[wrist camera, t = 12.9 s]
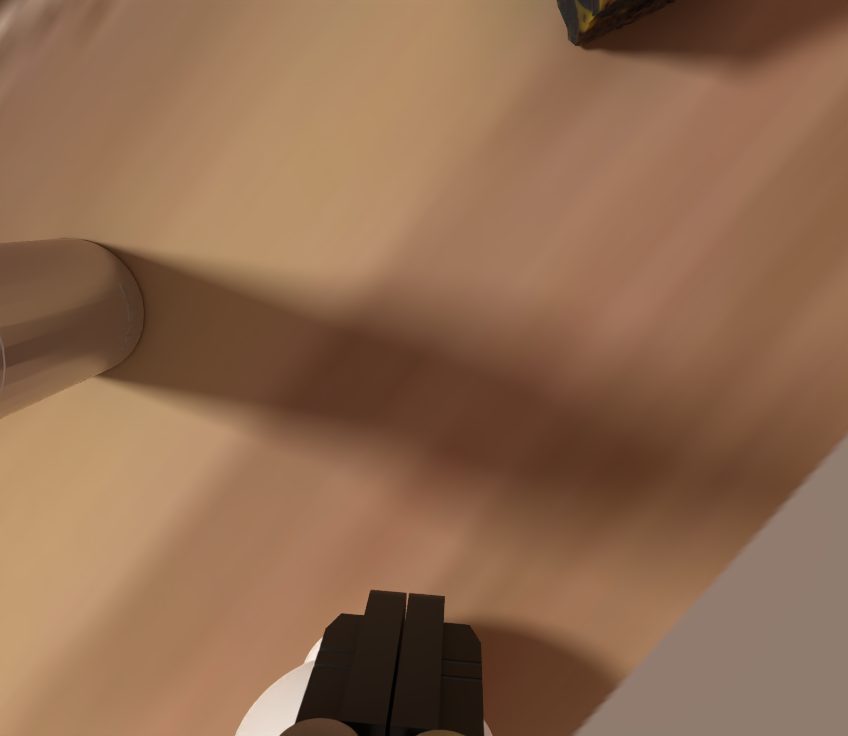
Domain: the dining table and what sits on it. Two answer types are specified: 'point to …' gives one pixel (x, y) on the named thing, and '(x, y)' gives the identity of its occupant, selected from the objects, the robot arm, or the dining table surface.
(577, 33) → the candle
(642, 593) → the dining table surface
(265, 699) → the decorative vase
